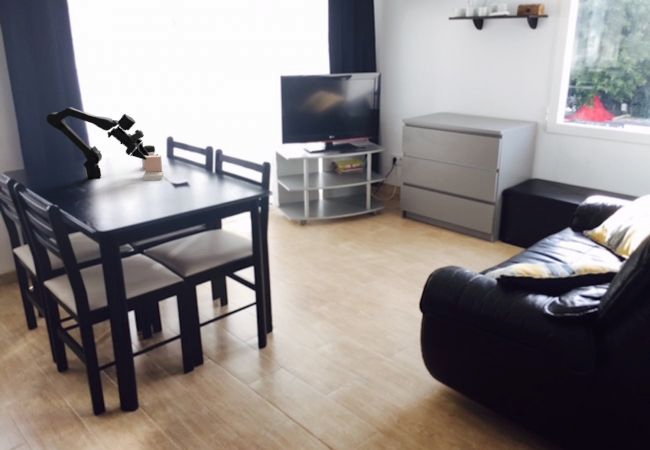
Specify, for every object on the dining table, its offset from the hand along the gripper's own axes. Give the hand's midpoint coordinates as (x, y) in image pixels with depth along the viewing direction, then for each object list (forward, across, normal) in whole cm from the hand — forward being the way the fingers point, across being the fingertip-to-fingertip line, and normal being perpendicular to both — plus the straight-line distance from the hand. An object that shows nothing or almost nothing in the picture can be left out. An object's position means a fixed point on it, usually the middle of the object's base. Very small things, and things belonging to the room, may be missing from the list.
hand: (147, 157), depth 294 cm
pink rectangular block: (+9, 0, +5) cm, 10 cm away
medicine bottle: (+6, +22, +9) cm, 25 cm away
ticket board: (+9, -6, +5) cm, 12 cm away
